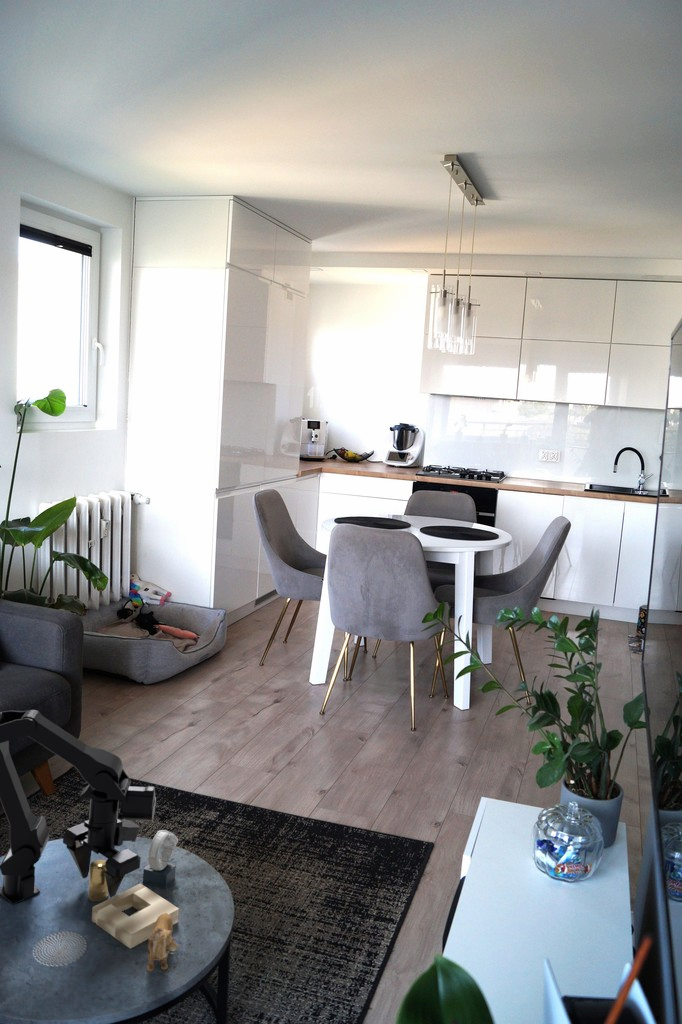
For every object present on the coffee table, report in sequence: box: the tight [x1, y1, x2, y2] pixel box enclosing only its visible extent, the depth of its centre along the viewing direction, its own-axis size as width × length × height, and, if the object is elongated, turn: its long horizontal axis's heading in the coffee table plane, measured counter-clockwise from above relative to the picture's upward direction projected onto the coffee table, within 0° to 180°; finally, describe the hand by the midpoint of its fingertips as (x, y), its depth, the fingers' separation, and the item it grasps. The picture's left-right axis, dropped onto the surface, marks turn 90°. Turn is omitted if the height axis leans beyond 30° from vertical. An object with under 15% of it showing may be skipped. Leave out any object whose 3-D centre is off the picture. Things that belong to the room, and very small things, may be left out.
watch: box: [142, 829, 179, 889], centre depth 188 cm, size 6×8×11 cm
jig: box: [91, 883, 180, 949], centre depth 173 cm, size 12×12×3 cm
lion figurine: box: [146, 913, 179, 972], centre depth 163 cm, size 15×5×9 cm, turn 13°
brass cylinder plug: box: [87, 859, 109, 902], centre depth 180 cm, size 4×4×7 cm
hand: (98, 886), depth 180 cm, fingers open, 9 cm apart
